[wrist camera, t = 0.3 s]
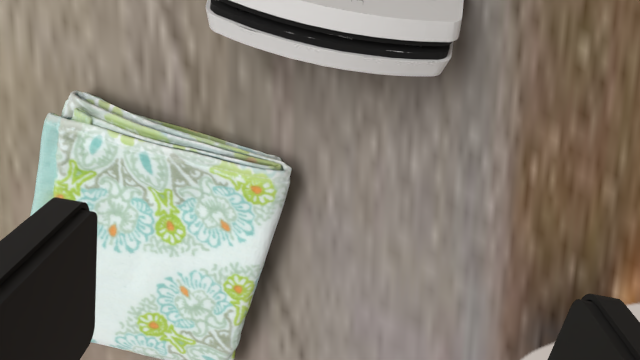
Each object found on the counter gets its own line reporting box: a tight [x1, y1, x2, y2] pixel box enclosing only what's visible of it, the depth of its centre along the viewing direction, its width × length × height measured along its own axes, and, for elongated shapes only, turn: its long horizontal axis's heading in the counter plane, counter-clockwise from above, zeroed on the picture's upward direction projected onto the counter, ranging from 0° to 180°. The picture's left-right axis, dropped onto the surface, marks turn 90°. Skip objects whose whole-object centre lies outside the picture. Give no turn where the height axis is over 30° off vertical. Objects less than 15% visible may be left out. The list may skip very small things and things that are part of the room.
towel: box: [30, 91, 292, 360], centre depth 43 cm, size 18×21×5 cm
